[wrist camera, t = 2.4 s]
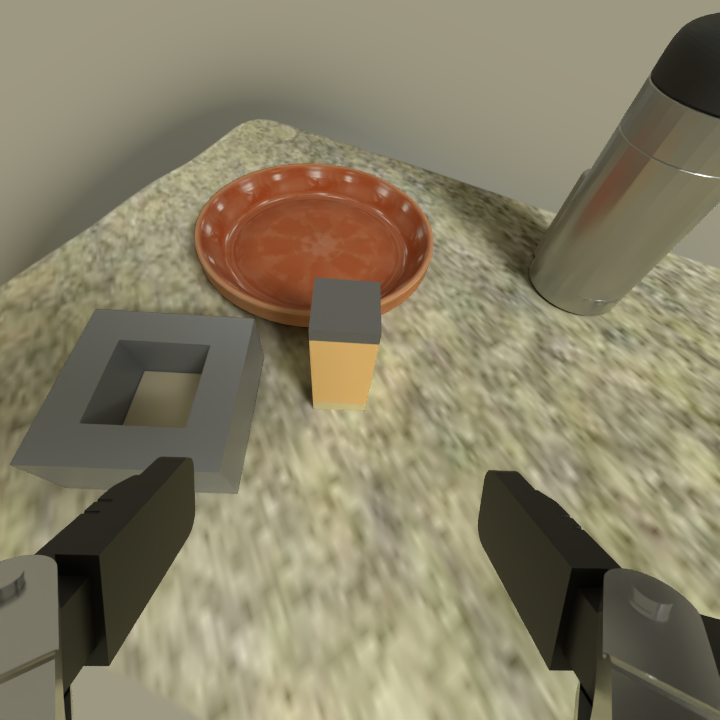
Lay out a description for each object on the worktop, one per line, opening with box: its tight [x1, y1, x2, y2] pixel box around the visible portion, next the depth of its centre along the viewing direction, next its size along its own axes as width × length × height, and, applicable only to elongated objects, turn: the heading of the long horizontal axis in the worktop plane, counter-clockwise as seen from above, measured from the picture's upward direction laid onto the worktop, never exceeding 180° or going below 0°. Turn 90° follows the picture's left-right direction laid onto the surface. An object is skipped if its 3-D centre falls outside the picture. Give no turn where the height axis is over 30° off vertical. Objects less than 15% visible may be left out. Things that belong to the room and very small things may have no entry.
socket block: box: [10, 309, 264, 494], centre depth 25 cm, size 11×11×5 cm
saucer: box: [194, 163, 433, 327], centre depth 36 cm, size 23×23×4 cm
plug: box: [309, 277, 381, 411], centre depth 25 cm, size 4×4×10 cm
